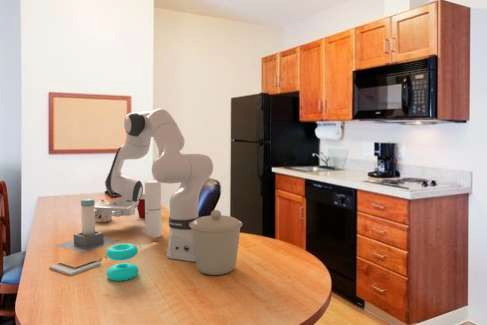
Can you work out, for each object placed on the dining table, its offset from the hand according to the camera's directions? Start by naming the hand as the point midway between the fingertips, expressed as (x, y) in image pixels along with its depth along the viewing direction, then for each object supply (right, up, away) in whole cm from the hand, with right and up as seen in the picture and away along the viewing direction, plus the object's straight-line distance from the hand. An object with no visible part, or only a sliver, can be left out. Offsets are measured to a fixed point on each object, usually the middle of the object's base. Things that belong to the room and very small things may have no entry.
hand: (103, 213), depth 165 cm
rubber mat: (+3, -14, -34) cm, 37 cm away
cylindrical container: (+21, -11, +5) cm, 24 cm away
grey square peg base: (-2, -12, -11) cm, 17 cm away
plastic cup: (+7, -8, +42) cm, 43 cm away
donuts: (+23, -15, -42) cm, 50 cm away
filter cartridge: (-2, -11, -11) cm, 16 cm away
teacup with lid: (-12, -9, +32) cm, 35 cm away
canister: (+53, -15, -36) cm, 66 cm away
